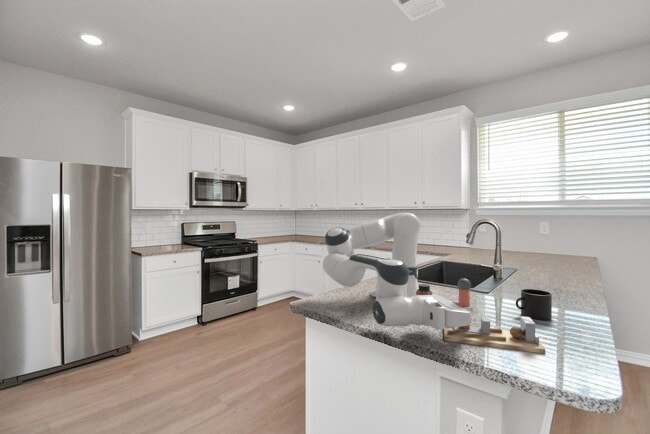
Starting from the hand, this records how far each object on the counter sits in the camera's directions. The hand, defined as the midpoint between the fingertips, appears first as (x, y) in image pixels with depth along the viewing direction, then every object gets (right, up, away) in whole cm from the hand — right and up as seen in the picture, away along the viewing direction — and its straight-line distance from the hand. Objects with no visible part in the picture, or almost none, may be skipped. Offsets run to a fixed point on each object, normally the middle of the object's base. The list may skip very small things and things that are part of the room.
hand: (466, 307), depth 97 cm
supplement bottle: (-7, -9, +21) cm, 23 cm away
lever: (+1, -8, -1) cm, 8 cm away
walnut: (+13, -8, -5) cm, 16 cm away
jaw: (+16, -8, -6) cm, 19 cm away
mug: (+33, -9, +17) cm, 38 cm away
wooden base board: (+6, -9, -2) cm, 11 cm away
